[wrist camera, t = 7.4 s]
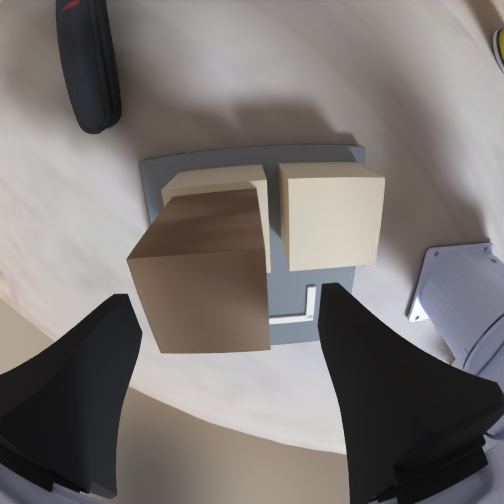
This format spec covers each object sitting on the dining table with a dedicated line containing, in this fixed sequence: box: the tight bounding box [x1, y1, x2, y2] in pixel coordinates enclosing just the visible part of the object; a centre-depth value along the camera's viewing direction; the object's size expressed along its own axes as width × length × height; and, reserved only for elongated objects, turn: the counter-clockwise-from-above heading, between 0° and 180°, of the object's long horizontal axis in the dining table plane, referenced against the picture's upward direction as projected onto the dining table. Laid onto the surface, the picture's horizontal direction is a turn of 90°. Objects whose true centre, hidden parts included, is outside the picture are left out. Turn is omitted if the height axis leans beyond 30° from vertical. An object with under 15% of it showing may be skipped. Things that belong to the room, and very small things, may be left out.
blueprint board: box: [139, 144, 385, 345], centre depth 18 cm, size 14×16×5 cm
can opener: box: [56, 0, 121, 134], centre depth 9 cm, size 18×7×6 cm, turn 4°
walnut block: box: [127, 188, 271, 353], centre depth 11 cm, size 4×4×6 cm
